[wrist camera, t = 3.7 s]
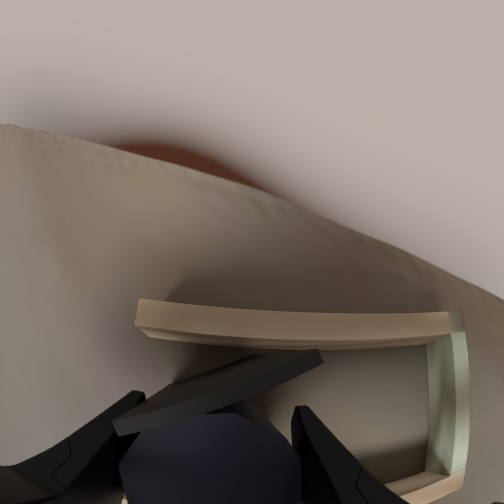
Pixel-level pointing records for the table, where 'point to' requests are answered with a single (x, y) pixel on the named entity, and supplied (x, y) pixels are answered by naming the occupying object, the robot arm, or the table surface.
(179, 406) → the dark cylinder with backplate
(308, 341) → the channel
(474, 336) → the table surface
